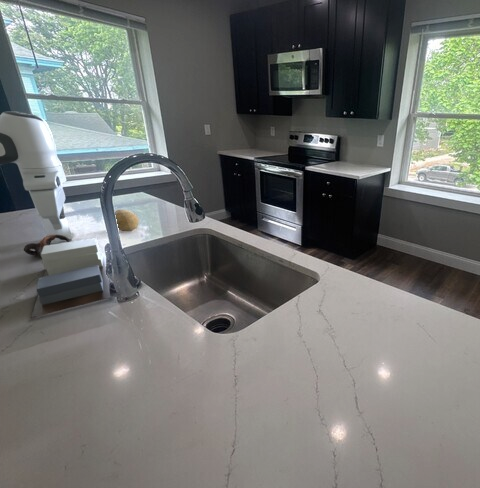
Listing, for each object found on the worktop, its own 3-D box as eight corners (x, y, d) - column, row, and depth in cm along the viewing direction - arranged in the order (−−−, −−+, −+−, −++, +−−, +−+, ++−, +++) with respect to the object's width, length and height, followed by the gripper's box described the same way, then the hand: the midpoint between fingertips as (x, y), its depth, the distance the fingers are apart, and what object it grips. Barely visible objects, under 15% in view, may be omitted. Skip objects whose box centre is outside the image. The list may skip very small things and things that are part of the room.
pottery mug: (66, 247, 109) (69, 231, 106) (73, 266, 106) (77, 250, 102) (20, 250, 100) (22, 232, 96) (26, 271, 96) (28, 253, 92)
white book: (43, 262, 86) (40, 254, 85) (46, 253, 91) (43, 245, 90) (98, 252, 93) (96, 244, 92) (98, 244, 98) (96, 237, 97)
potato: (119, 238, 117) (113, 219, 114) (109, 228, 126) (104, 210, 122) (146, 232, 124) (141, 214, 120) (135, 222, 132) (131, 205, 129)
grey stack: (41, 306, 76) (34, 289, 74) (45, 292, 82) (38, 276, 79) (104, 290, 83) (99, 275, 81) (104, 279, 88) (99, 264, 86)
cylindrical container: (62, 243, 112) (37, 176, 101) (43, 242, 111) (16, 175, 101) (77, 235, 118) (55, 172, 107) (59, 234, 118) (35, 171, 107)
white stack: (47, 277, 88) (41, 263, 86) (50, 267, 93) (45, 253, 91) (102, 266, 95) (98, 252, 93) (102, 257, 100) (98, 244, 98)
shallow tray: (33, 322, 73) (30, 317, 72) (49, 266, 96) (47, 262, 96) (111, 302, 81) (109, 297, 80) (108, 255, 105) (107, 251, 104)
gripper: (35, 169, 88) (50, 214, 94) (21, 185, 73) (41, 237, 78) (62, 168, 91) (76, 211, 97) (55, 183, 76) (71, 233, 82)
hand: (60, 223), depth 88 cm, fingers open, 8 cm apart
